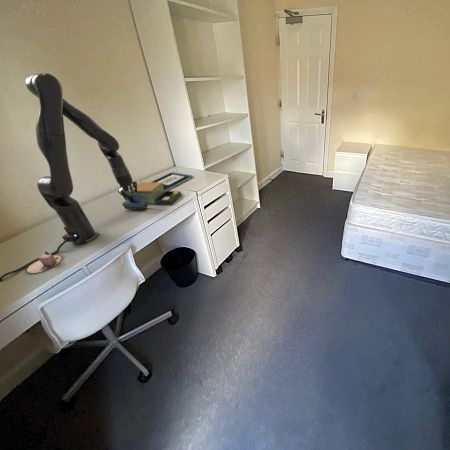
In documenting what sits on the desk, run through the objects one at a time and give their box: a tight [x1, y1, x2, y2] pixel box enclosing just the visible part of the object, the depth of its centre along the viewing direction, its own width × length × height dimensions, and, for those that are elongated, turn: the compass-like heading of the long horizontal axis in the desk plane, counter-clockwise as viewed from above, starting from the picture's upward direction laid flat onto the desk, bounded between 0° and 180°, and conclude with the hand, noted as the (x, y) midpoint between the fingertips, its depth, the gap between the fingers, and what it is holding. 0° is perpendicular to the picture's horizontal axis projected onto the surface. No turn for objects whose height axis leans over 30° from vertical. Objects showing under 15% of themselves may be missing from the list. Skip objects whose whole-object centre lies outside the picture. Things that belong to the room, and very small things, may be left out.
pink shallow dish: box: [26, 251, 62, 275], centre depth 114 cm, size 12×12×4 cm
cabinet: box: [127, 181, 165, 205], centre depth 163 cm, size 13×16×9 cm
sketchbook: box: [151, 171, 194, 191], centre depth 188 cm, size 22×30×2 cm
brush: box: [121, 193, 149, 210], centre depth 152 cm, size 12×5×9 cm, turn 84°
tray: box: [154, 190, 182, 206], centre depth 164 cm, size 13×10×3 cm
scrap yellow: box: [171, 189, 179, 197], centre depth 166 cm, size 4×4×2 cm
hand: (133, 201), depth 152 cm, fingers closed on brush, 2 cm apart
